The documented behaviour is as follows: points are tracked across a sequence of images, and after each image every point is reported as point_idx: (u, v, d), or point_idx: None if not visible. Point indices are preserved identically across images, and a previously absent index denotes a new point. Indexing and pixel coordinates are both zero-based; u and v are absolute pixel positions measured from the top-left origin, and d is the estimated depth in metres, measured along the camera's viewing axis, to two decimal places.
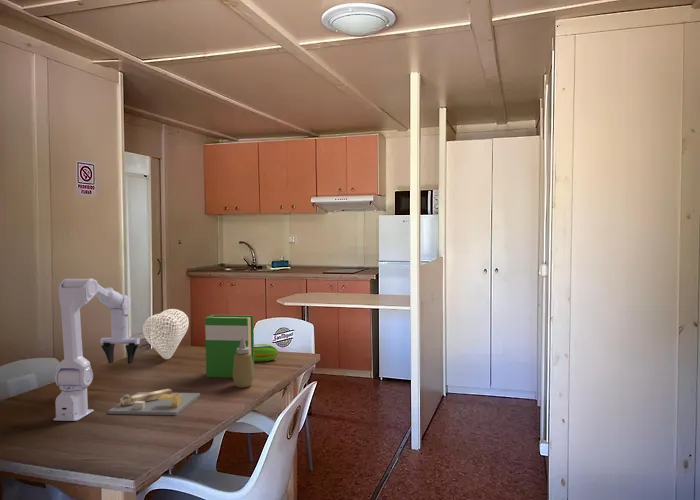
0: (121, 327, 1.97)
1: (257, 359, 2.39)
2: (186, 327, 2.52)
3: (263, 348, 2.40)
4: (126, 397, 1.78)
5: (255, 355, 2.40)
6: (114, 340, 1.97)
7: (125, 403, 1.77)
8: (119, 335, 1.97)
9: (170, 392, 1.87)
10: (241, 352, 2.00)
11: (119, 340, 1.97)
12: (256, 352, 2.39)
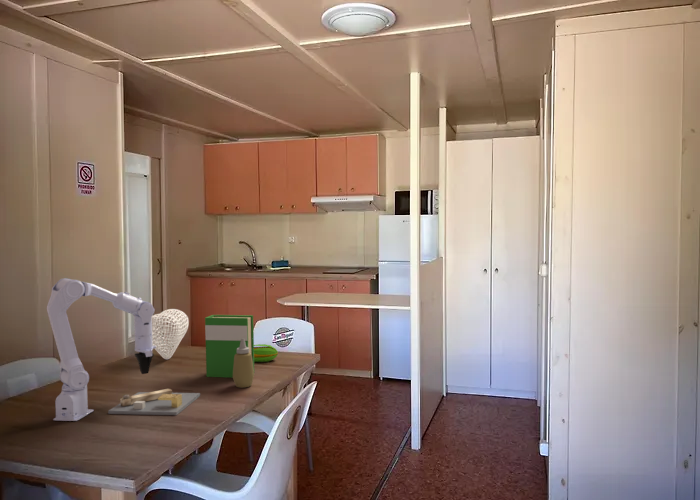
0: (138, 336, 1.85)
1: (256, 359, 2.39)
2: (186, 327, 2.52)
3: (262, 348, 2.39)
4: (126, 397, 1.78)
5: (254, 355, 2.39)
6: None
7: (125, 403, 1.77)
8: (136, 344, 1.85)
9: (170, 392, 1.87)
10: (241, 352, 2.00)
11: (136, 349, 1.85)
12: (255, 353, 2.38)
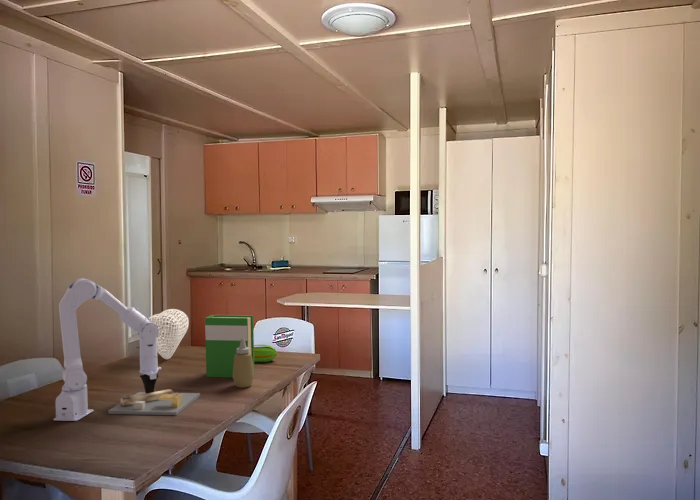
0: (143, 357, 1.82)
1: (255, 360, 2.38)
2: (186, 327, 2.52)
3: (261, 349, 2.38)
4: (126, 397, 1.78)
5: None
6: None
7: (125, 403, 1.77)
8: (141, 365, 1.83)
9: (171, 393, 1.86)
10: (241, 352, 2.00)
11: (141, 371, 1.83)
12: (254, 353, 2.38)
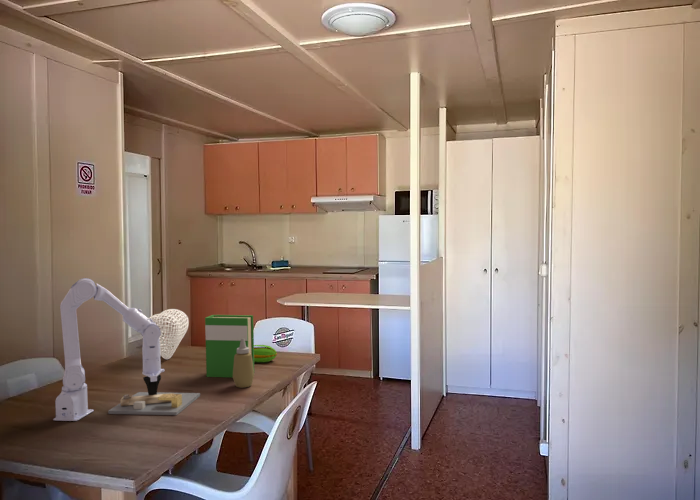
0: (145, 359, 1.80)
1: (255, 360, 2.38)
2: (186, 327, 2.52)
3: (261, 349, 2.38)
4: (125, 397, 1.78)
5: None
6: None
7: (123, 403, 1.78)
8: (144, 367, 1.81)
9: None
10: (241, 352, 2.00)
11: (143, 373, 1.80)
12: None
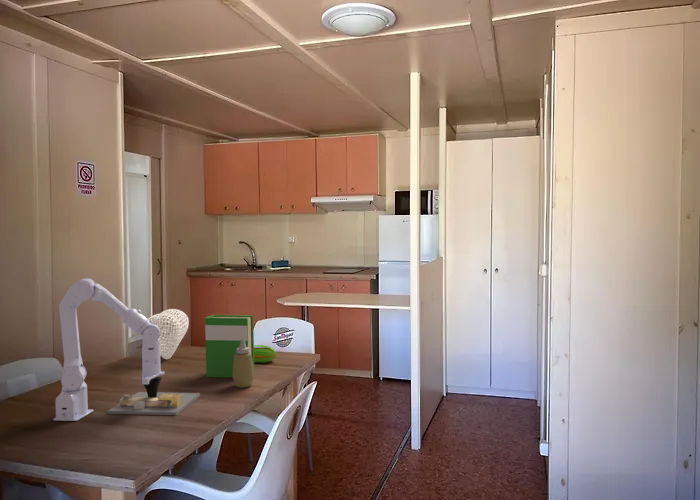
0: (143, 360, 1.78)
1: (254, 360, 2.37)
2: (186, 327, 2.52)
3: (260, 349, 2.37)
4: (124, 397, 1.78)
5: None
6: None
7: (121, 403, 1.78)
8: None
9: (165, 402, 1.76)
10: (241, 352, 2.00)
11: (142, 374, 1.79)
12: None
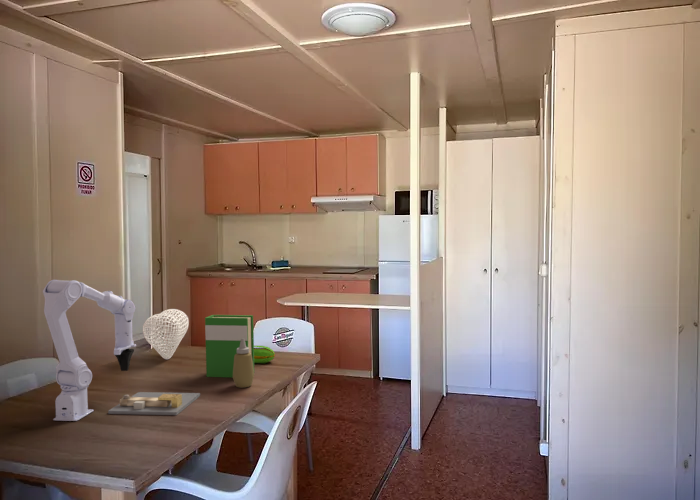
0: (115, 333, 1.89)
1: None
2: (186, 327, 2.52)
3: (258, 350, 2.36)
4: (124, 397, 1.78)
5: None
6: None
7: (121, 403, 1.78)
8: (115, 341, 1.90)
9: (165, 402, 1.76)
10: (241, 352, 2.00)
11: (115, 346, 1.90)
12: None
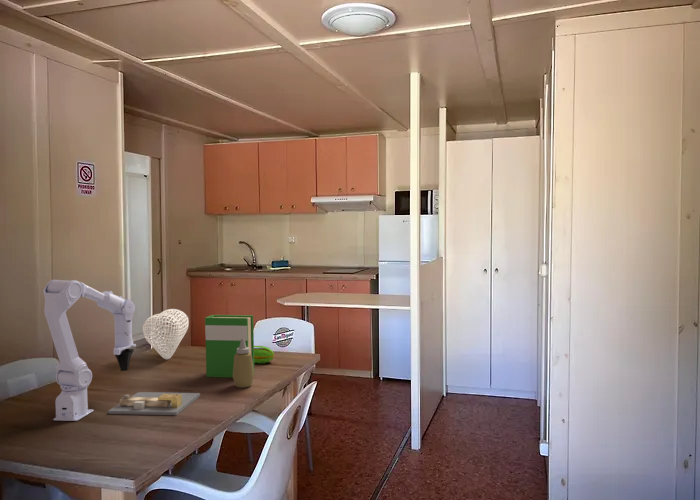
0: (115, 333, 1.89)
1: None
2: (186, 327, 2.52)
3: (257, 350, 2.36)
4: (124, 397, 1.78)
5: None
6: None
7: (121, 403, 1.78)
8: None
9: (165, 402, 1.76)
10: (241, 352, 2.00)
11: (114, 346, 1.90)
12: None
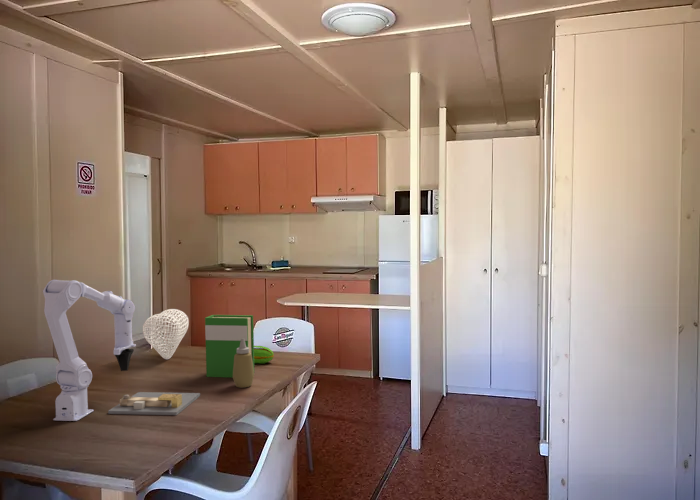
0: (115, 333, 1.89)
1: None
2: (186, 327, 2.52)
3: (257, 350, 2.36)
4: (124, 397, 1.78)
5: None
6: None
7: (121, 403, 1.78)
8: None
9: (165, 402, 1.76)
10: (241, 352, 2.00)
11: (114, 346, 1.90)
12: None
